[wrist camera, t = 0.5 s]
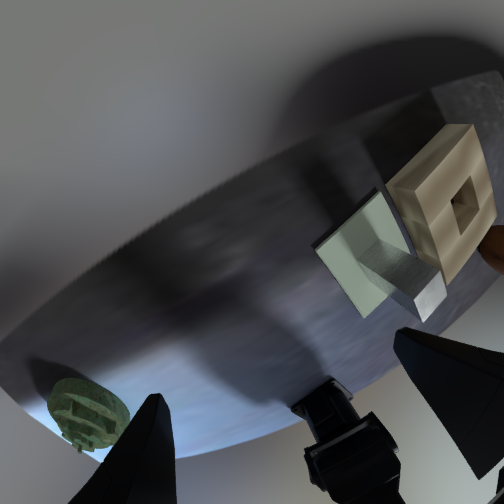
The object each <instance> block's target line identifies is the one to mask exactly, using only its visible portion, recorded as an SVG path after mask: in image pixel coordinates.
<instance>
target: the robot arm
mask: <svg viewBox="0 0 504 504" xmlns="http://www.w3.org/2000/svg"><path fill="white" fill-rule="evenodd" d="M393 349H394V352H395V353H396V355H397V357H398V358H399V360H400V362H401V364H402V365H403V367H404V369H405V370H406V372H407V374H408V376H409V377H410V379H411V380H412V382H413V383H414V384H415V386H416V387H417V389H418V390H419V391H420V393H421V394H422V396H423V397H424V398H425V400H426V401H427V403H428V404H429V405H430V407H431V408H432V410H433V411H434V412H435V414H436V415H437V417H438V418H439V420H440V421H441V423H442V424H443V426H444V427H445V429H446V430H447V432H448V433H449V435H450V436H451V437H452V439H453V441H454V442H455V443H456V445H457V446H458V448H459V450H460V451H461V453H462V455H463V456H464V458H465V459H466V461H467V463H468V464H469V466H470V467H471V469H472V470H473V472H474V474H475V476H476V477H477V479H478V480H480V479H481V478H482V477H484V476H485V475H486V474H487V473H488V472H489V471H490V470H491V469H492V468H493V467H494V466H496V465H497V464H498V463H499V462H500V461H501V460H502V459H503V457H504V353H501V352H496V351H491V350H487V349H483V348H479V347H478V348H477V347H476V346H472V345H468V344H465V343H461V342H457V341H453V340H450V339H446V338H442V337H439V336H436V335H432V334H429V333H425V332H422V331H418V330H415V329H411V328H408V327H403V328H401V329H398V330H397V331H396V333H395V339H394V344H393ZM353 398H354V397H353V395H352V394H351V393H350V392H349V391H348V390H346V389H345V388H344V387H343V386H342V385H341V384H340V383H339V382H337V381H336V380H335V379H330V380H329V381H328V382H326V383H325V384H324V385H322V386H321V387H320V388H318V389H317V390H315V391H314V392H313V393H311V394H310V395H308V396H307V397H306V398H304V399H303V400H301V401H300V402H298V403H297V404H295V405H294V406H292V407H291V412H292V413H294V414H296V415H298V416H299V417H301V418H303V419H305V420H306V421H307V423H308V425H309V427H310V429H311V432H312V433H313V436H314V438H315V440H316V442H317V443H316V444H314V445H312V446H310V447H306V448H304V450H305V455H304V458H305V461H306V463H307V466H308V470H309V476H310V481H311V483H312V484H314V485H317V486H318V487H319V488H320V489H321V490H322V491H323V492H325V491H328V493H329V495H330V497H331V499H332V500H333V501H335V502H336V503H338V504H405V502H404V500H403V499H402V497H401V495H400V494H399V492H398V491H399V481H400V480H399V479H400V469H401V463H400V461H399V459H398V458H397V456H396V454H395V453H397V452H398V451H399V449H398V446H397V444H396V442H395V441H394V439H393V437H392V436H391V434H390V433H389V432H388V430H387V429H386V428H385V427H384V425H383V424H382V423H381V422H380V420H379V419H378V418H377V417H376V415H375V414H374V413H373V412H372V411H371V412H370V413H368V415H366V416H365V417H363V418H361V419H360V417H359V415H358V414H357V412H356V411H355V409H354V408H353V406H352V405H351V403H350V401H351V400H352V399H353ZM103 461H104V462H102V463H101V464H100V466H99V467H98V469H97V470H96V471H95V473H94V474H93V476H92V477H91V478H90V479H89V480H88V482H87V483H86V484H85V485H84V486H83V488H82V489H81V490H80V491H79V492H78V493H77V494H76V495H75V496H74V497H73V498H72V499H71V501H70V502H69V503H68V504H177V496H176V475H175V447H174V439H173V432H172V424H171V415H170V410H169V407H168V405H167V403H166V402H165V400H164V398H163V396H162V395H161V394H160V393H156V394H150V395H149V396H148V397H147V398H146V400H145V401H144V403H143V404H142V406H141V407H140V408H139V410H138V411H137V413H136V414H135V416H134V417H133V418H132V420H131V421H130V423H129V424H128V426H127V427H126V428H125V430H124V431H123V433H122V434H121V436H120V437H119V439H118V440H117V441H116V443H115V444H114V446H113V447H112V449H111V450H110V451H109V453H108V454H107V456H106V457H105V459H104V460H103ZM496 494H497V495H496V496H495V497H494V498H493V499H492V500H491V501H490V502H489V503H488V504H504V466H503V467H502V468H501V469H500V470H499V477H498V484H497V490H496Z"/></svg>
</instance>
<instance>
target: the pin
mask: <svg viewBox="0 0 504 504" xmlns="http://www.w3.org/2000/svg"><path fill="white" fill-rule="evenodd" d="M357 262H358V264H359V265H360V267H361V269H362V270H363V272H364V273H365V275H366V277H367V278H368V280H369V281H370V282H371V283H372V284H374V285H375V286H376V287H378V288H379V289H380V290H382V291H383V292H384V293H385V294H387V295H388V296H389V297H391V298H392V299H393V300H395V301H396V302H397V303H398V304H400V305H401V306H402V307H404V308H405V309H406V310H407V311H409V312H410V313H411V314H413V315H414V316H415V317H416V318H418V319H419V320H420V321H421V322H424V321H425V320H426V319H427V318H428V316H429V315H430V314H431V313H432V312H433V311H434V310H435V309H436V308H437V306H438V305H439V304H440V303H441V302H442V301H443V300H444V298H445V297H446V296H447V293H446V289H445V285H444V282H443V278H442V275H441V271H440V270H439V269H437V268H435V267H433V266H431V265H429V264H428V263H426V262H424V261H422V260H420V259H418V258H416V257H414V256H412V255H411V254H409V253H407V252H405V251H403V250H401V249H399V248H397V247H395V246H393V245H391V244H389V243H387V242H385V241H383V240H381V239H378V240H377V241H376V242H375V243H374V244H373V245H372V246H371V247H370V248H369V249H368V250H366V251H365V252H364V253H363V254H362V255H361V256H360V257H359V258H358V259H357Z"/></svg>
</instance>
